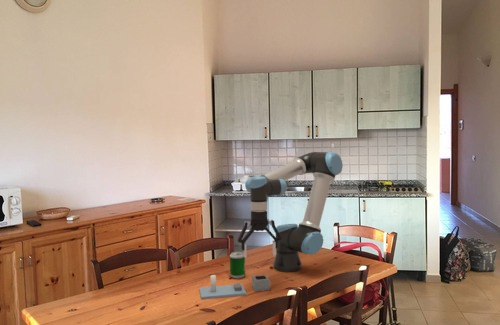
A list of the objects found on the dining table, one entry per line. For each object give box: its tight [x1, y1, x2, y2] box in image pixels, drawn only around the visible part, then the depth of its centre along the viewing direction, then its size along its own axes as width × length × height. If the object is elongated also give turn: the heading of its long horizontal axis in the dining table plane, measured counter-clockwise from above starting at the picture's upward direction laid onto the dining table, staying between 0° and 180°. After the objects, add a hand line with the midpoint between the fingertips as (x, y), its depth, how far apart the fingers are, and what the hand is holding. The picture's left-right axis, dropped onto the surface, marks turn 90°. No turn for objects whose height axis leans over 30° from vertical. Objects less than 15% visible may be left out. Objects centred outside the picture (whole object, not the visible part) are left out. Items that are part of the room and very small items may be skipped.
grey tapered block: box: [251, 274, 271, 292], centre depth 196 cm, size 7×7×5 cm
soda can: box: [229, 251, 246, 280], centre depth 213 cm, size 8×8×12 cm
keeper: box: [199, 274, 247, 300], centre depth 192 cm, size 20×12×8 cm, turn 100°
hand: (259, 256), depth 195 cm, fingers open, 13 cm apart
